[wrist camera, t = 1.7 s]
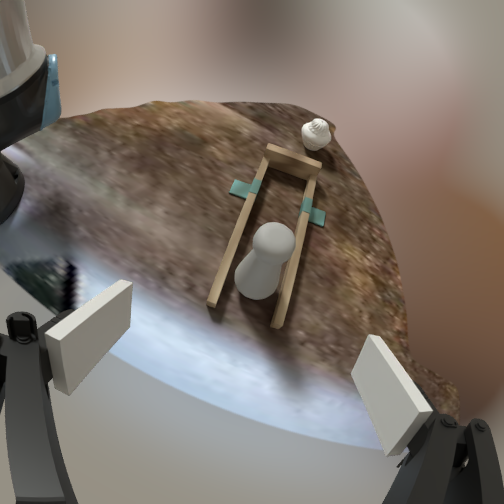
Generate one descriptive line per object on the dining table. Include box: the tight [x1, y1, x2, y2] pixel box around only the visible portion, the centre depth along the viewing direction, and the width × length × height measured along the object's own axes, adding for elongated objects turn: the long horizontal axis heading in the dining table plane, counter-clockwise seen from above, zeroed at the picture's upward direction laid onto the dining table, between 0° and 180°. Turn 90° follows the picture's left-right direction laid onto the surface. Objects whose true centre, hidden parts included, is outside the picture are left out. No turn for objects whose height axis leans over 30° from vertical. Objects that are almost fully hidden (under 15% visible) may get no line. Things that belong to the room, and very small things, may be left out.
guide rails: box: [206, 143, 326, 329], centre depth 41 cm, size 16×29×4 cm, turn 164°
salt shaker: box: [235, 222, 296, 300], centre depth 33 cm, size 6×6×13 cm
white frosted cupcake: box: [302, 119, 331, 151], centre depth 52 cm, size 6×6×7 cm
